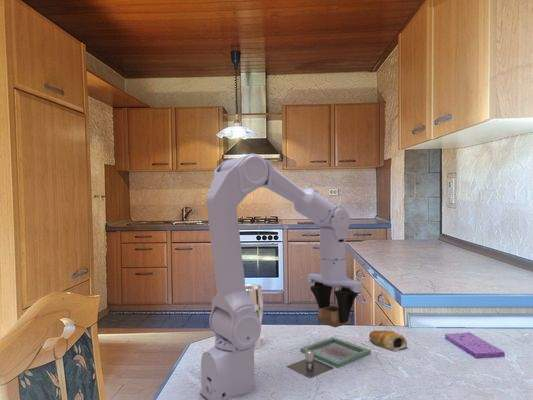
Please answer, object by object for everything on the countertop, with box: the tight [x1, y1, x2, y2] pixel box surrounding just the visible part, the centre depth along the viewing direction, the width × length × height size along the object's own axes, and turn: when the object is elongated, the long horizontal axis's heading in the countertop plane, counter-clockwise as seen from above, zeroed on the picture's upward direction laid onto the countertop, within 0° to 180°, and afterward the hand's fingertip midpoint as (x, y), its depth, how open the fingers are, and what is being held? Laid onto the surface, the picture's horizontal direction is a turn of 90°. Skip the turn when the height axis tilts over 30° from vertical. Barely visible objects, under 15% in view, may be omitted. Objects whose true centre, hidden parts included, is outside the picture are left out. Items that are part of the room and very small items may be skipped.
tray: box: [299, 336, 372, 369], centre depth 82 cm, size 11×11×2 cm
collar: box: [317, 304, 351, 328], centre depth 82 cm, size 5×5×3 cm
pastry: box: [368, 329, 408, 353], centre depth 90 cm, size 9×7×4 cm
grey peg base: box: [286, 350, 335, 379], centre depth 75 cm, size 7×7×4 cm
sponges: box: [444, 331, 506, 360], centre depth 87 cm, size 7×13×2 cm, turn 4°
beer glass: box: [245, 283, 264, 350], centre depth 88 cm, size 7×7×15 cm
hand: (334, 319), depth 82 cm, fingers closed on collar, 5 cm apart
